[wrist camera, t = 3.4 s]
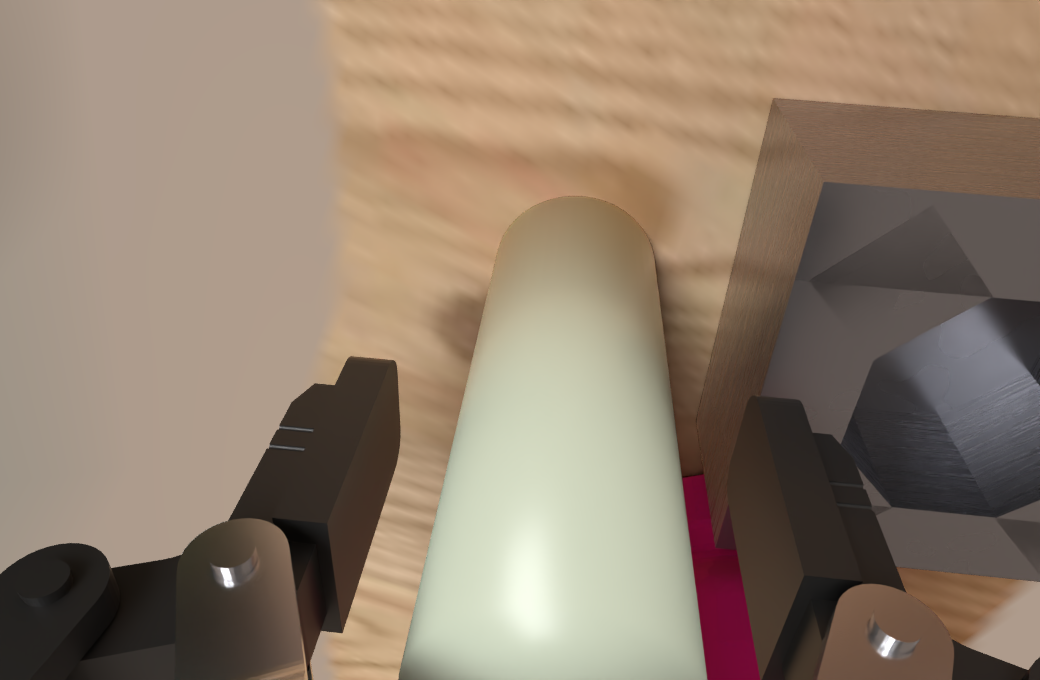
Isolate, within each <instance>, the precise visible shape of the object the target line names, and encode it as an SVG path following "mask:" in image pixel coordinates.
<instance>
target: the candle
mask: <svg viewBox="0 0 1040 680" xmlns="http://www.w3.org/2000/svg"><path fill="white" fill-rule="evenodd" d="M399 680H707V673H706V665H705V657H704V649H703V641H702V633H701V625H700V617H699V609H698V601H697V593H696V585H695V577H694V569H693V561H692V554H691V546H690V538H689V530H688V522H687V514H686V506H685V498H684V490H683V482H682V474H681V466H680V458H679V450H678V442H677V434H676V426H675V418H674V410H673V402H672V395H671V387H670V379H669V371H668V363H667V355H666V347H665V339H664V331H663V323H662V315H661V307H660V299H659V291H658V283H657V275H656V267H655V259H654V254H653V249H652V247H651V244H650V241H649V239H648V237H647V235H646V233H645V232H644V230H643V229H642V228H641V226H640V225H639V224H638V223H637V222H636V221H635V220H634V219H633V218H632V217H631V216H630V215H629V214H627V213H626V212H625V211H623V210H622V209H620V208H618V207H617V206H615V205H613V204H610V203H608V202H606V201H602V200H599V199H596V198H590V197H583V196H568V197H559V198H555V199H550V200H547V201H545V202H542V203H539V204H537V205H535V206H533V207H531V208H530V209H528V210H527V211H525V212H524V213H522V214H521V215H520V216H519V217H518V218H517V219H516V220H515V221H514V222H513V223H512V224H511V225H510V226H509V228H508V229H507V231H506V232H505V234H504V236H503V238H502V240H501V242H500V245H499V248H498V251H497V256H496V260H495V264H494V268H493V273H492V277H491V281H490V286H489V290H488V294H487V298H486V303H485V307H484V311H483V316H482V320H481V324H480V329H479V333H478V337H477V341H476V346H475V350H474V354H473V359H472V363H471V367H470V371H469V376H468V380H467V384H466V389H465V393H464V397H463V402H462V406H461V410H460V414H459V419H458V423H457V427H456V432H455V436H454V440H453V444H452V449H451V453H450V457H449V462H448V466H447V470H446V474H445V479H444V483H443V487H442V492H441V496H440V500H439V505H438V509H437V513H436V517H435V522H434V526H433V530H432V535H431V539H430V543H429V547H428V552H427V556H426V560H425V565H424V569H423V573H422V578H421V582H420V586H419V590H418V595H417V599H416V603H415V608H414V612H413V616H412V620H411V625H410V629H409V633H408V638H407V642H406V646H405V651H404V655H403V659H402V663H401V668H400V672H399Z"/></svg>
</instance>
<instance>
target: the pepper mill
mask: <svg viewBox="0 0 1040 680" xmlns="http://www.w3.org/2000/svg"><path fill="white" fill-rule="evenodd" d="M682 482H683V490H684V498H685V506H686V514H687V522H688V530H689V538H690V546H691V554H692V561H693V569H694V577H695V585H696V593H697V601H698V609H699V617H700V625H701V633H702V641H703V649H704V657H705V665H706V673H707V680H760V674H759V669H758V663H757V658H756V652H755V647H754V642H753V636H752V631H751V625H750V620H749V614H748V609H747V603H746V598H745V592H744V587H743V581H742V576H741V570H740V565H739V559H738V554H737V550H731V549H721V548H715V542H714V536H713V529H712V523H711V516H710V510H709V503H708V496H707V490H706V483H705V477H704V474H702V475H696V476H690V477H684V478H682Z"/></svg>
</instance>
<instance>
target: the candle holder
mask: <svg viewBox="0 0 1040 680" xmlns="http://www.w3.org/2000/svg"><path fill="white" fill-rule="evenodd" d="M753 395H755V396H765V397H776V398H786V399H797V400H800V401H801V402H802V404H803V406H804V409H805V412H806V415H807V418H808V421H809V424H810V427H811V430H812V433H822V434H831V435H832V436H833V437H834V438H835V439H836V440H837V441H838V442H839V443H840V444H841V445H842V446H843V447H844V449H845V450H846V451H847V452H848V453H849V454H850V455H851V456H852V457H853V458H854V461H855V463H856V466H857V468H858V471H859V474H860V476H861V479H862V481H863V484H864V485H863V489H866V491H867V494H868V497H869V499H870V502H871V504H872V511H874V512H875V514H876V517H877V520H878V522H879V525H880V527H881V530H882V532H883V535H884V537H885V540H886V542H887V545H888V548H889V550H890V553H891V555H892V558H893V560H894V563H895V565H896V567H903V568H912V569H922V570H931V571H941V572H951V573H960V574H970V575H979V576H989V577H998V578H1008V579H1017V580H1027V581H1037V582H1040V119H1035V118H1022V117H1009V116H997V115H984V114H971V113H958V112H945V111H932V110H919V109H906V108H893V107H880V106H867V105H854V104H841V103H828V102H815V101H802V100H789V99H776V98H773V101H772V105H771V110H770V114H769V118H768V122H767V126H766V131H765V135H764V139H763V143H762V147H761V151H760V156H759V160H758V164H757V168H756V172H755V176H754V181H753V185H752V189H751V193H750V197H749V201H748V206H747V210H746V214H745V218H744V222H743V227H742V231H741V235H740V239H739V243H738V247H737V252H736V256H735V260H734V264H733V268H732V272H731V277H730V281H729V285H728V289H727V293H726V297H725V302H724V306H723V310H722V314H721V318H720V323H719V327H718V331H717V335H716V339H715V343H714V348H713V352H712V356H711V360H710V364H709V368H708V373H707V377H706V381H705V385H704V389H703V393H702V398H701V402H700V406H699V410H698V414H697V419H696V425H697V431H698V438H699V444H700V451H701V457H702V464H703V470H704V477H705V483H706V490H707V496H708V503H709V510H710V516H711V523H712V529H713V536H714V542H715V548H721V549H731V550H737V548H736V543H735V538H734V532H733V527H732V521H731V516H730V510H729V505H728V497H727V480H728V471H729V465H730V461H731V458H732V454H733V451H734V447H735V444H736V440H737V437H738V433H739V430H740V426H741V423H742V419H743V416H744V412H745V409H746V405H747V402H748V400H749V398H750V397H751V396H753Z"/></svg>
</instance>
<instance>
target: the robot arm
mask: <svg viewBox="0 0 1040 680" xmlns="http://www.w3.org/2000/svg"><path fill="white" fill-rule="evenodd" d="M399 447H400V412H399V393H398V374H397V365H396V362H395V361H394V360H385V359H374V358H363V357H353V356H350V357H349V358H348V359H347V361H346V363H345V365H344V367H343V369H342V371H341V373H340V376H339V378H338V380H337V382H336V384H335V385H326V384H314V385H312V386H311V387H310V388H309V389H307V390H306V391H305V392H304V393H303V394H301V395H300V396H299V397H298V398H296V399H295V400H294V401H293V402H292V403H291V405H290V407H289V409H288V410H287V412H286V414H285V416H284V418H283V420H282V421H281V423H280V428H279V430H277V431H276V433H275V435H274V436H273V438H272V440H271V442H270V447H269V449H266V452H265V453H264V455H263V457H262V459H261V461H260V463H259V464H258V466H257V468H256V470H255V472H254V474H253V476H252V477H251V479H250V481H249V483H248V485H247V487H246V489H245V491H244V492H243V494H242V496H241V498H240V500H239V502H238V504H237V505H236V508H235V509H234V511H233V513H232V515H231V517H230V518H229V520H228V521H226V522H222V523H220V524H217V525H215V526H213V527H211V528H209V529H207V530H205V531H204V532H203V533H201V534H199V535H198V536H197V537H196V538H195V539H194V540H193V541H191V542H190V543H189V545H188V546H187V547H186V548H185V550H184V551H183V554H182V555H179V556H176V557H173V558H168V559H164V560H158V561H152V562H146V563H140V564H134V565H127V566H122V567H115V568H111V567H110V565H109V562H108V560H107V558H106V557H105V556H104V554H103V553H102V552H101V551H99V550H98V549H96V548H94V547H92V546H89V545H85V544H79V543H67V544H58V545H54V546H50V547H46V548H44V549H40V550H38V551H35V552H33V553H31V554H28V555H27V556H25V557H23V558H22V559H19V560H18V561H16V562H15V563H14V564H12V565H11V566H9V567H8V568H7V569H6V570H5V571H3V572H2V573H1V574H0V680H313V674H312V667H311V661H310V660H311V657H312V654H313V652H314V649H315V646H316V643H317V640H318V637H319V635H320V632H321V631H327V632H336V633H343V630H344V627H345V624H346V620H347V617H348V614H349V611H350V608H351V605H352V602H353V599H354V596H355V592H356V589H357V586H358V583H359V580H360V577H361V574H362V571H363V568H364V564H365V561H366V558H367V555H368V552H369V549H370V546H371V543H372V540H373V536H374V533H375V530H376V527H377V524H378V521H379V518H380V515H381V511H382V508H383V505H384V502H385V499H386V496H387V493H388V490H389V487H390V483H391V480H392V477H393V474H394V471H395V468H396V464H397V460H398V454H399ZM863 485H864V484H863V481H862V479H861V476H860V474H859V471H858V468H857V466H856V463H855V461H854V458H853V457H852V456H851V455H850V454H849V453H848V452H847V451H846V450H845V449H844V447H843V446H842V445H841V444H840V443H839V442H838V441H837V440H836V439H835V438H834V437H833V436H832V435H831V434H822V433H812V430H811V427H810V424H809V421H808V418H807V415H806V412H805V409H804V406H803V404H802V402H801V401H800V400H797V399H786V398H776V397H765V396H755V395H753V396H751V397H750V398H749V400H748V402H747V405H746V409H745V412H744V416H743V419H742V423H741V426H740V430H739V433H738V437H737V440H736V444H735V447H734V451H733V454H732V458H731V461H730V465H729V471H728V480H727V497H728V505H729V510H730V516H731V521H732V527H733V532H734V538H735V543H736V548H737V554H738V559H739V565H740V570H741V576H742V581H743V587H744V592H745V598H746V603H747V609H748V614H749V620H750V625H751V631H752V636H753V642H754V647H755V652H756V658H757V663H758V669H759V674H760V680H1040V658H1038V659H1037V660H1036V661H1035V662H1034V664H1033V665H1032V666H1031V667H1030V669H1029V670H1026V669H1023V668H1020V667H1018V666H1015V665H1013V664H1010V663H1007V662H1005V661H1002V660H999V659H997V658H994V657H991V656H989V655H986V654H983V653H981V652H978V651H975V650H973V649H971V648H968V647H966V646H964V645H961V644H960V643H958V642H956V641H954V640H952V639H951V637H950V634H949V632H948V630H947V629H946V627H945V626H944V624H943V623H942V621H941V620H940V619H939V618H938V616H937V615H936V614H935V613H934V612H933V611H932V610H931V609H930V608H929V607H927V606H926V605H925V604H923V603H922V602H921V601H919V600H918V599H916V598H915V597H913V596H911V595H909V594H907V593H906V591H905V588H904V586H903V583H902V581H901V578H900V576H899V573H898V571H897V568H896V565H895V563H894V560H893V558H892V555H891V553H890V550H889V548H888V545H887V542H886V540H885V537H884V535H883V532H882V530H881V527H880V525H879V522H878V520H877V517H876V514H875V512H874V511H872V504H871V502H870V499H869V497H868V494H867V491H866V489H863Z"/></svg>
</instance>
